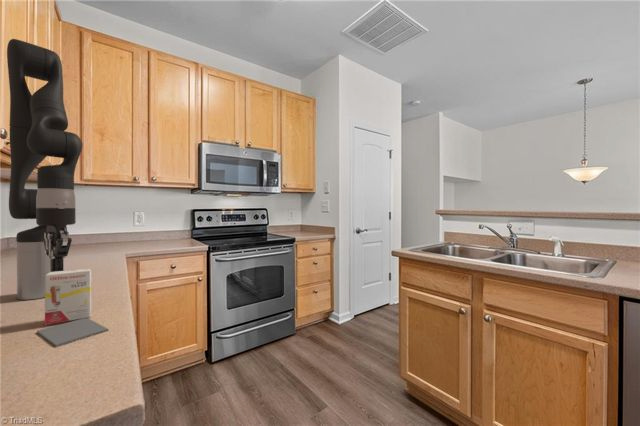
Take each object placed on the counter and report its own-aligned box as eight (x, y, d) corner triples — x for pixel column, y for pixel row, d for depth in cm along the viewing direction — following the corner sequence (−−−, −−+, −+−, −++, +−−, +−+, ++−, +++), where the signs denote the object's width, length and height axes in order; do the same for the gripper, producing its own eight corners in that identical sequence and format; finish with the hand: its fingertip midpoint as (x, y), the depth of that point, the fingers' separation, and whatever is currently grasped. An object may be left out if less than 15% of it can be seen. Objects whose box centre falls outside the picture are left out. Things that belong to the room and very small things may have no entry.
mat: (36, 332, 63) (36, 330, 63) (86, 319, 71) (86, 317, 71) (56, 346, 57) (56, 344, 57) (108, 330, 65) (108, 328, 65)
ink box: (43, 325, 66) (43, 274, 66) (46, 320, 70) (47, 272, 70) (90, 317, 71) (90, 269, 72) (91, 313, 75) (91, 268, 76)
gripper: (28, 206, 74) (29, 272, 75) (45, 206, 67) (46, 279, 68) (65, 207, 81) (66, 267, 81) (84, 206, 74) (85, 273, 74)
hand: (57, 272), depth 74 cm, fingers closed
